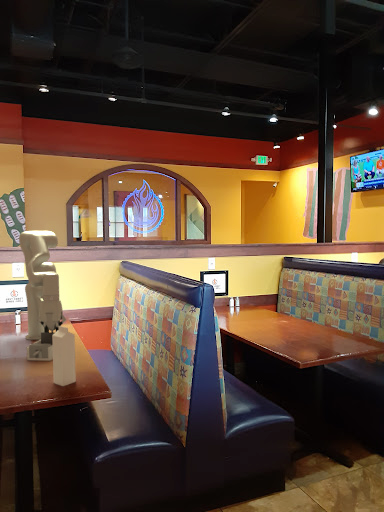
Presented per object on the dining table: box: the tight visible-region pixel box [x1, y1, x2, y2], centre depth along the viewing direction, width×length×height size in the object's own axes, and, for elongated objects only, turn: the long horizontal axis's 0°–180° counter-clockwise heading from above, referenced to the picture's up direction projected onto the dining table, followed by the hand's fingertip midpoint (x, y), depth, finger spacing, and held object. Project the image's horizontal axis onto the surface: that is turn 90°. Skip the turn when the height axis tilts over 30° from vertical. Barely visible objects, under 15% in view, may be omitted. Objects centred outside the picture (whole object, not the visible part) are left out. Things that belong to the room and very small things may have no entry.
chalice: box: [45, 313, 56, 332], centre depth 203 cm, size 7×7×18 cm
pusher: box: [33, 331, 56, 356], centre depth 192 cm, size 17×8×9 cm, turn 175°
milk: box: [52, 325, 77, 387], centre depth 159 cm, size 6×6×22 cm
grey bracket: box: [26, 339, 53, 362], centre depth 199 cm, size 21×11×7 cm, turn 175°
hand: (52, 334), depth 203 cm, fingers closed on chalice, 4 cm apart
